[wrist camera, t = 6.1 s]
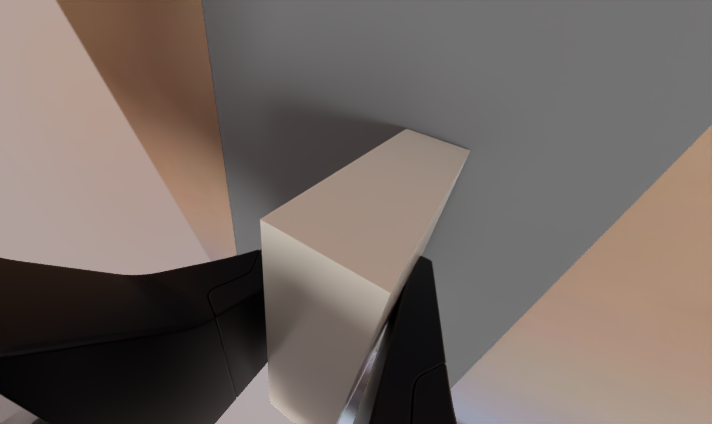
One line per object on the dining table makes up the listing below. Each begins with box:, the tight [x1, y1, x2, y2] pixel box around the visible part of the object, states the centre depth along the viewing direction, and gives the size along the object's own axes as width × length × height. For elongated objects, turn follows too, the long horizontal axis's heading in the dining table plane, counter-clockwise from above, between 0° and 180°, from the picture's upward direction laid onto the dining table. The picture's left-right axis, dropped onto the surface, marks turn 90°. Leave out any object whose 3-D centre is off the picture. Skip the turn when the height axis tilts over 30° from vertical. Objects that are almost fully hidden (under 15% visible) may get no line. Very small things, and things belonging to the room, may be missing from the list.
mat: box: [202, 0, 712, 389], centre depth 11 cm, size 18×15×1 cm
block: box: [260, 129, 470, 424], centre depth 8 cm, size 7×2×6 cm, turn 169°
